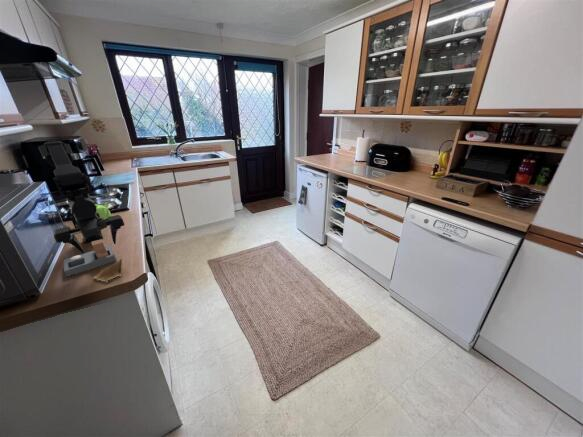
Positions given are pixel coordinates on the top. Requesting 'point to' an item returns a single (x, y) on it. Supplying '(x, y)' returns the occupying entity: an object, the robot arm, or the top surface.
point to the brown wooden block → (99, 249)
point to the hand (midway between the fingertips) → (99, 248)
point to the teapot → (103, 211)
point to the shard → (110, 271)
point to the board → (87, 261)
